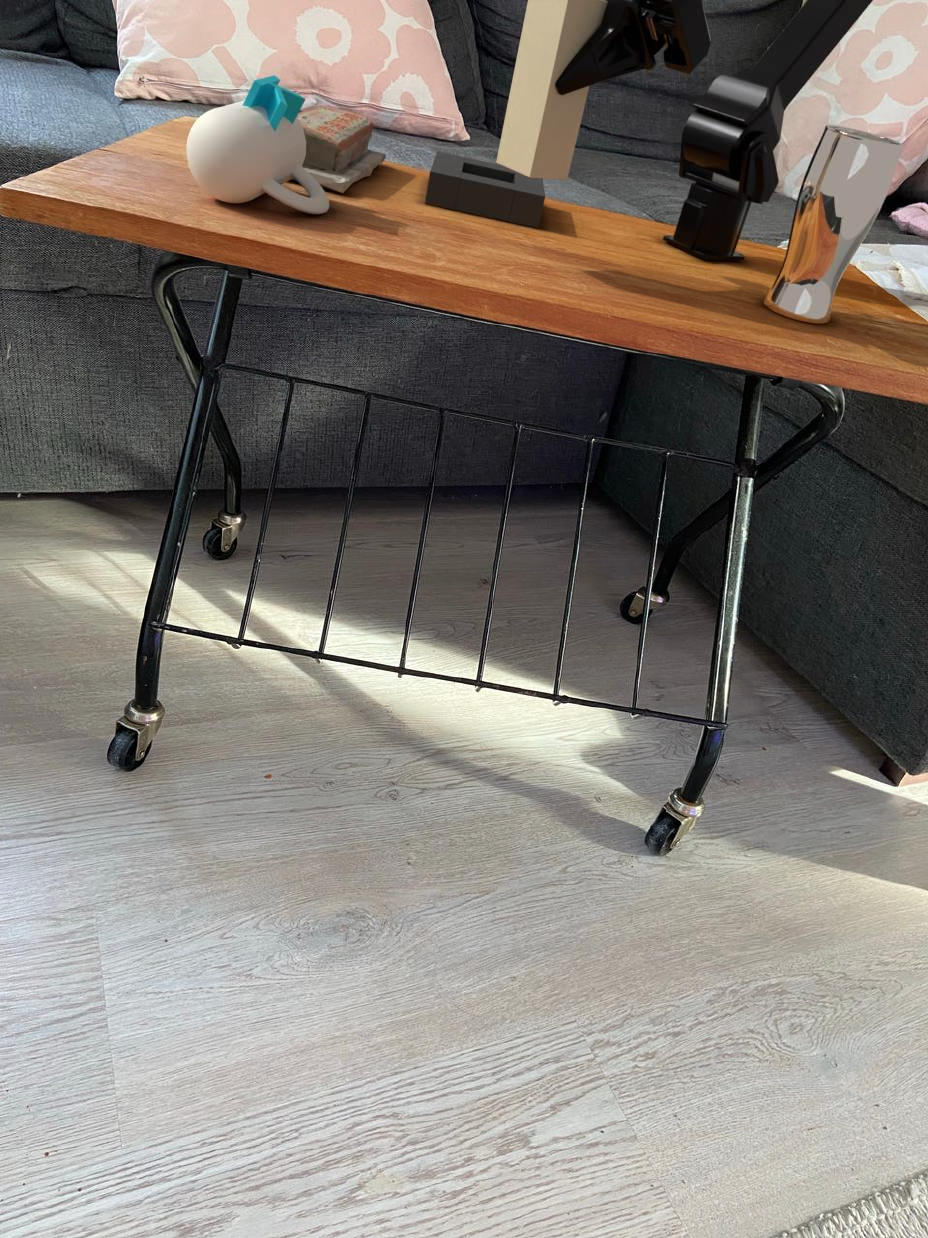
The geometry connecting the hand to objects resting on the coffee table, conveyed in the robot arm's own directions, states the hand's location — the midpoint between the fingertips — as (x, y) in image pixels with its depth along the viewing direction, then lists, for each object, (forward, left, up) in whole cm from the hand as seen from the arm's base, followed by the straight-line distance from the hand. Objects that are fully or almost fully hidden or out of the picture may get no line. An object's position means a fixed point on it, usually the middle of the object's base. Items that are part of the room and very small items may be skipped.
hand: (537, 82), depth 79 cm
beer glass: (-23, +15, -14) cm, 31 cm away
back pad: (-1, 0, -7) cm, 7 cm away
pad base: (-9, -16, -14) cm, 23 cm away
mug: (+17, -13, -14) cm, 25 cm away
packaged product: (+4, -26, -14) cm, 30 cm away
